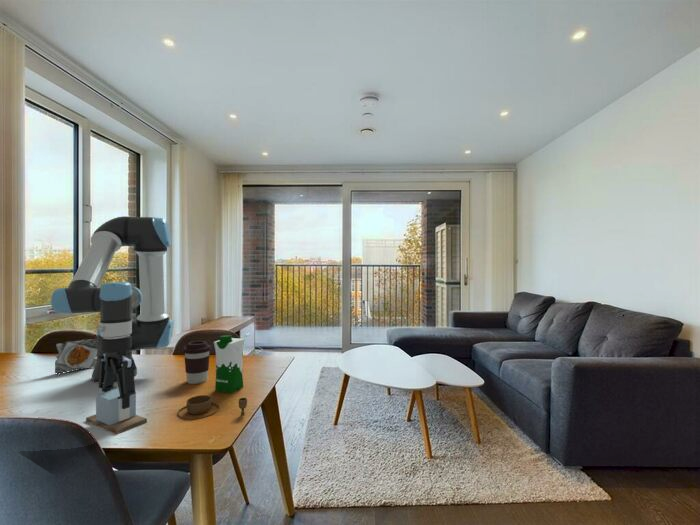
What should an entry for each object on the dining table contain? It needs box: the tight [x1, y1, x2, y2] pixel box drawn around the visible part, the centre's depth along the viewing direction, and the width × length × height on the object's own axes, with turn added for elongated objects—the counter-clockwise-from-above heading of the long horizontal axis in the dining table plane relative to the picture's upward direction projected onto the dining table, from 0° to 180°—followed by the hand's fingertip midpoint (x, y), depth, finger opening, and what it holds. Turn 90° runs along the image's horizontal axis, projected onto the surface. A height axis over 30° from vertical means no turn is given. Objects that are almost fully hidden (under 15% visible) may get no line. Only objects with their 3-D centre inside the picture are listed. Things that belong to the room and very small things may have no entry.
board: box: [85, 413, 148, 435], centre depth 99 cm, size 16×8×2 cm, turn 61°
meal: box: [54, 338, 97, 374], centre depth 147 cm, size 15×4×13 cm, turn 142°
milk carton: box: [213, 334, 245, 394], centre depth 126 cm, size 9×9×20 cm
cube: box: [95, 388, 137, 426], centre depth 99 cm, size 7×7×7 cm
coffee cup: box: [182, 340, 212, 385], centre depth 135 cm, size 10×10×15 cm
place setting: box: [176, 394, 248, 420], centre depth 104 cm, size 18×20×6 cm
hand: (116, 416), depth 99 cm, fingers closed on cube, 7 cm apart
